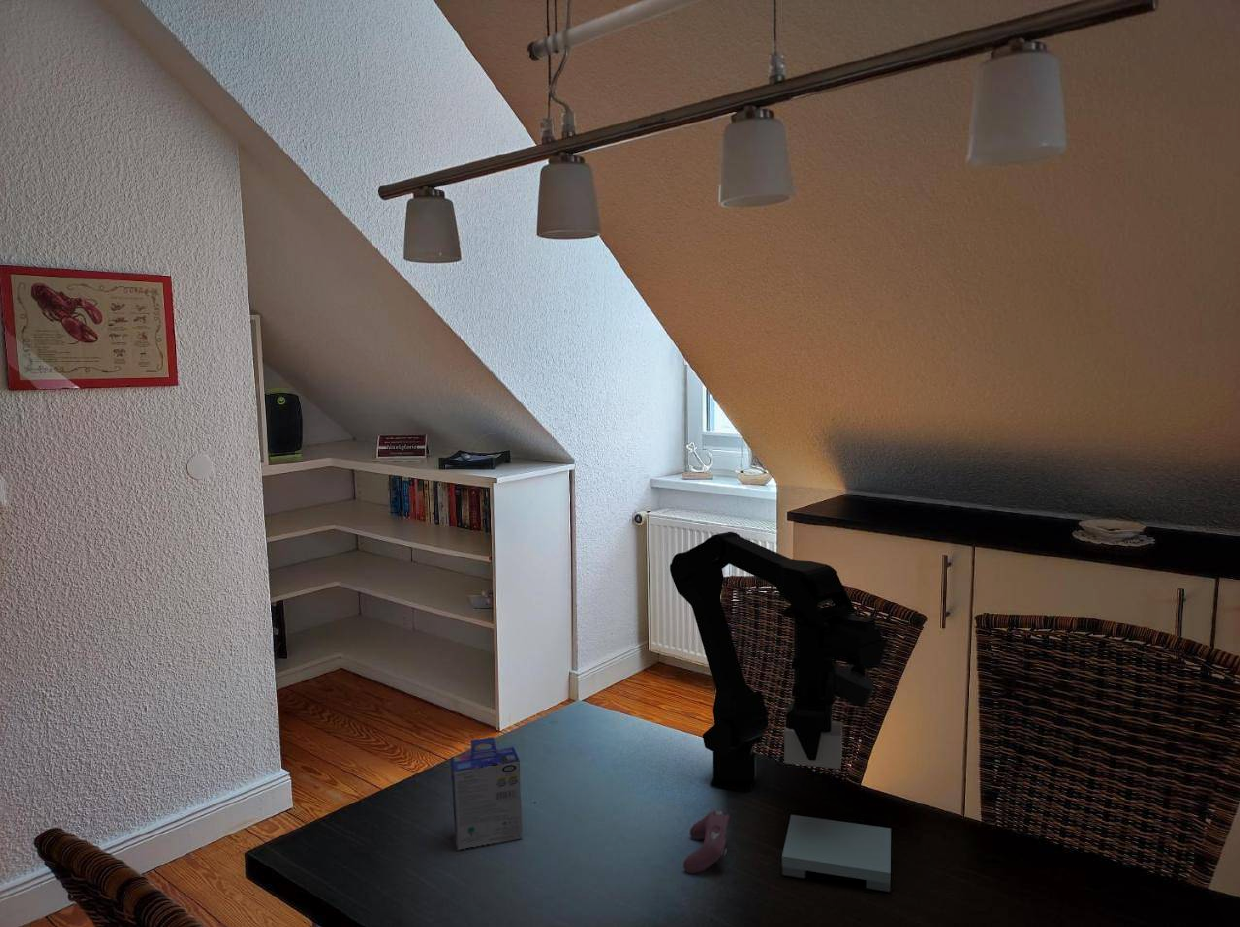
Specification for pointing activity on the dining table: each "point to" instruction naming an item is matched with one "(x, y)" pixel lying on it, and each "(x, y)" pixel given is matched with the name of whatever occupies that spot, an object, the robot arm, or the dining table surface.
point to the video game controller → (708, 841)
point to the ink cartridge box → (486, 796)
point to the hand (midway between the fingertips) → (813, 752)
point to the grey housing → (826, 753)
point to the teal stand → (838, 850)
